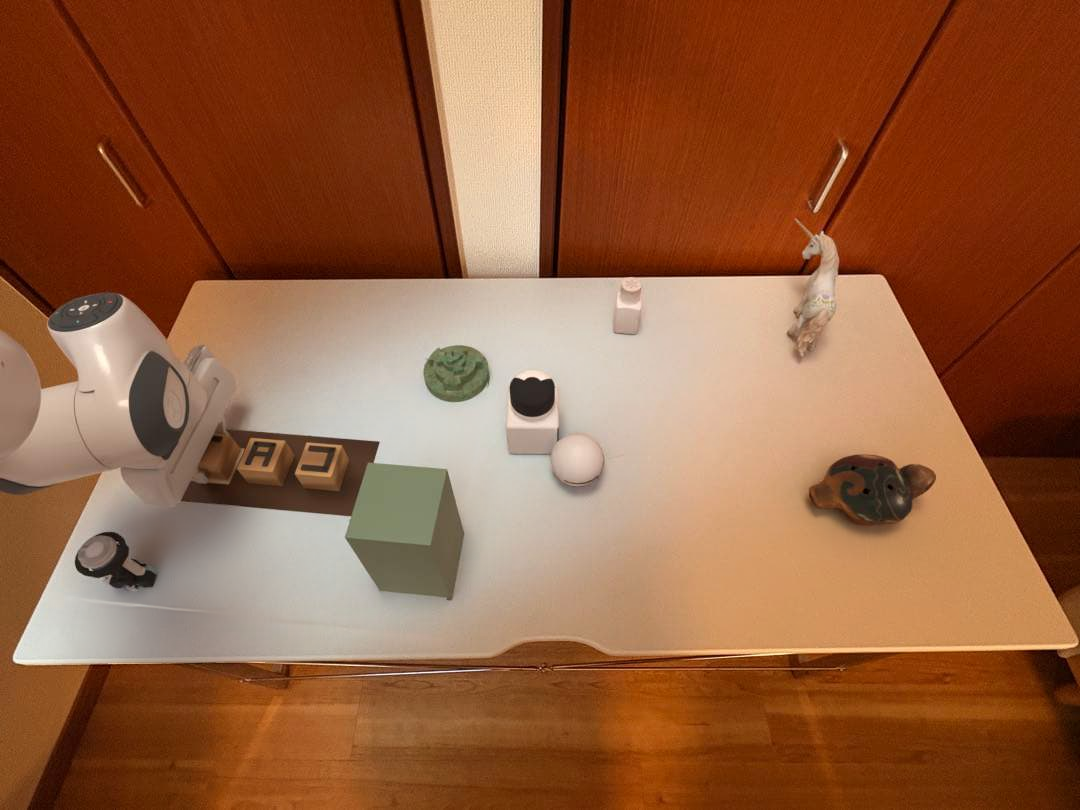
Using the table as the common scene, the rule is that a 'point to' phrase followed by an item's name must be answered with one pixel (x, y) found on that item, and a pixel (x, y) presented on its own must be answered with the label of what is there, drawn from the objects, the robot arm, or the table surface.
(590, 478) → the white sphere
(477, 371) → the decorative artifact
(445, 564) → the stand
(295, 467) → the word board
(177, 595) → the table surface
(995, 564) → the table surface
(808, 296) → the unicorn figurine
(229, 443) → the tile
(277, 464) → the tile
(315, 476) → the tile
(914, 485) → the decorative turtle
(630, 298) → the pepper shaker
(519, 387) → the white black domed block
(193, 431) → the robot arm
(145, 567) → the push button
